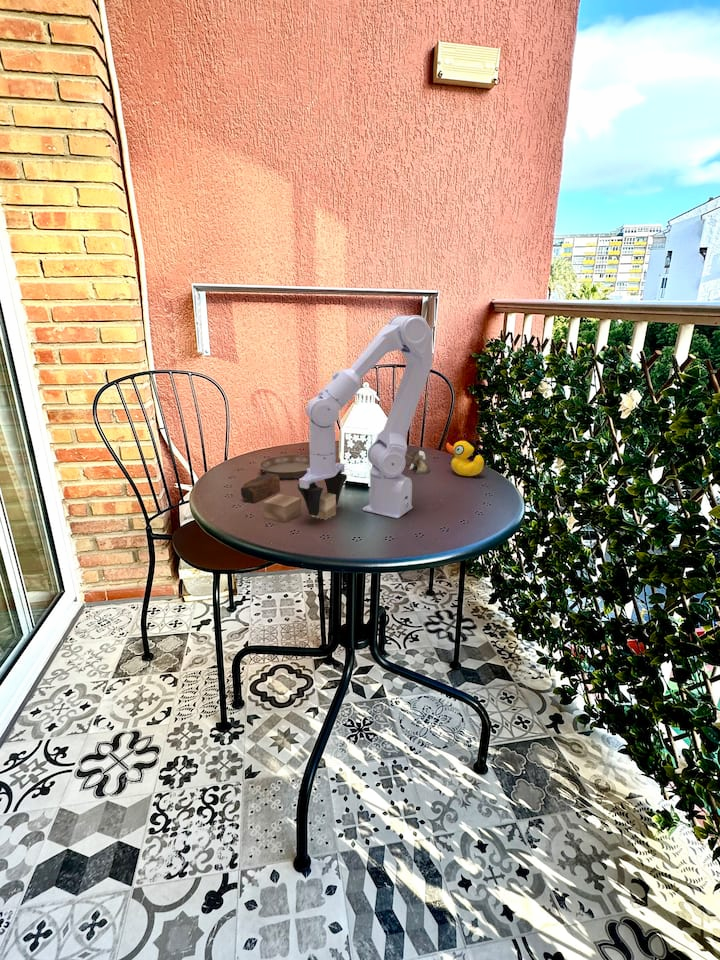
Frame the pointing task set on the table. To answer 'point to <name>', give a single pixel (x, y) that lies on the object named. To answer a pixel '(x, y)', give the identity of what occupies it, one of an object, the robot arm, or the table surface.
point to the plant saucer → (286, 466)
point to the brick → (260, 487)
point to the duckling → (465, 459)
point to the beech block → (326, 506)
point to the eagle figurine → (418, 462)
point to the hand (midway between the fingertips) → (323, 509)
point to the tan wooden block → (282, 508)
